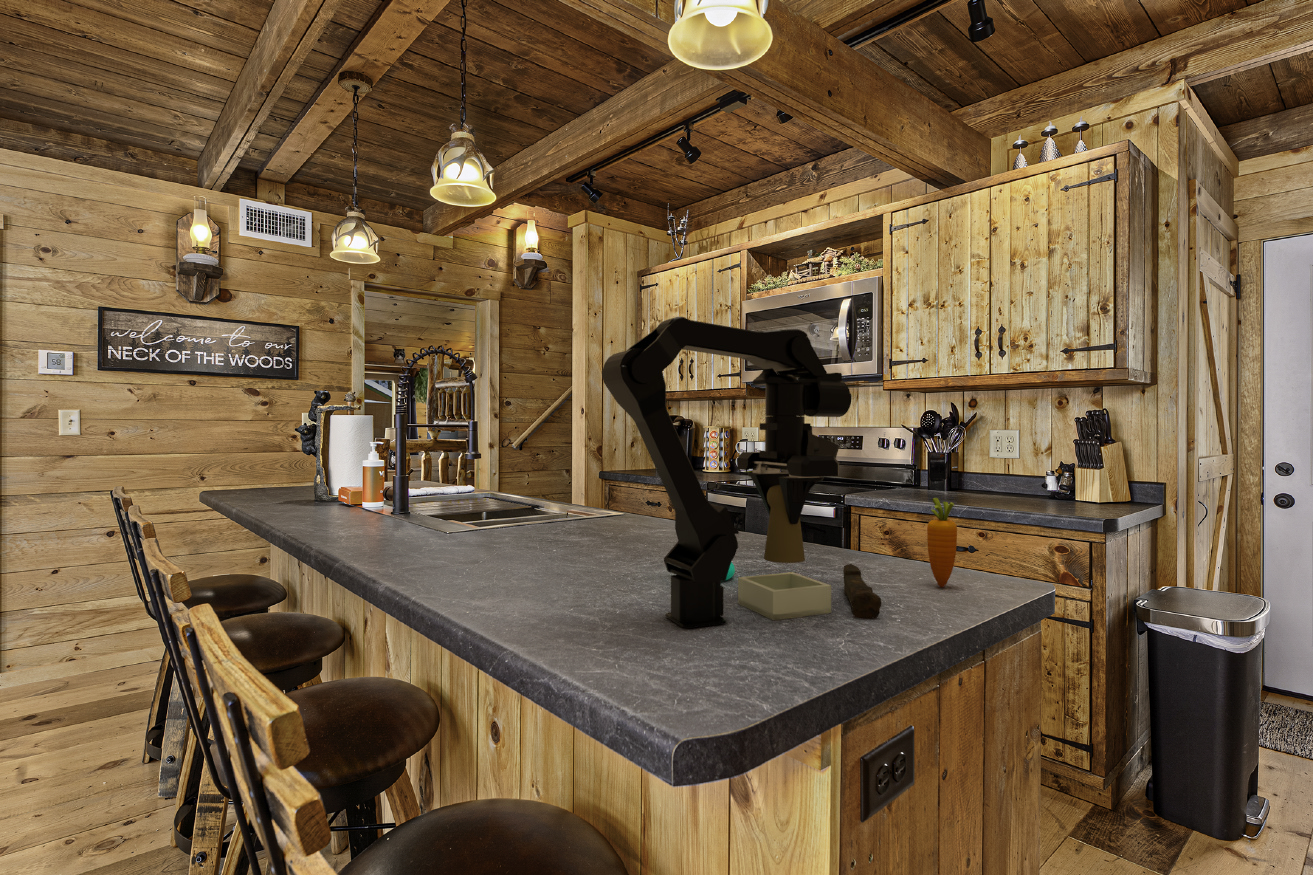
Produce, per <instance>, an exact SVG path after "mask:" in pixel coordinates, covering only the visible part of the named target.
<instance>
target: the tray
mask: <svg viewBox="0 0 1313 875" xmlns="http://www.w3.org/2000/svg"><path fill="white" fill-rule="evenodd" d="M737 579H738V580H737V581H738V582H737V584H738V585H737V586H738V587H737V591H738V592H737V594H738V595H737V603H738V605H740V606H742V607H744V608H746V609H748V610H751V611H753V612H755V613H757V614H760V615H761V616H763V617H766V618H768V619H770V620H772V621H778V620H786V619H788V620H789V619H793V618H802V617H810V616H811V617H812V616H817V615H826V614H831V613H832V585H831V584H829V583H825V582H823V581H821V580H820V581H819V580H816V579H814V578H810V577H809V576H804V575H803V574H802V575H801V574H799V573H796V572H793V571H791V572H782V573H773V574H772V573H771V574H761V575H749V576H739V577H737Z"/></svg>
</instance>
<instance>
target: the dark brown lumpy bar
mask: <svg viewBox="0 0 1313 875" xmlns="http://www.w3.org/2000/svg"><path fill="white" fill-rule="evenodd" d="M842 574H843V587H844V588H843V592H844V593H843V594H844V595H845V596H846V597H847V598H848V599H849V602H850V605H851V609H852V610H851V611H850V612H851V613H852V614H853V617H854V618H855V619H864V620H872V619H876V618H878V616H879V615H880V612H881V611H880V609H881V607H882V599H881V597H880V596H879V595H878V594H877V593H876V592H875V593H874V591H873V587H870V586H869V585H868V584H867V583H866V582H865V580H863V578H862V570H860V568H859V567H858V566H857V565H854V564H852V563H849V564H846V565H843V573H842Z"/></svg>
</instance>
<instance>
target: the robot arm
mask: <svg viewBox="0 0 1313 875" xmlns="http://www.w3.org/2000/svg"><path fill="white" fill-rule="evenodd" d="M682 350H684V351H690V352H698V353H705V354H711V355H717V356H723V357H724V356H725V357H731V358H737V359H742V360H745V361H747V362H749V363H750V364H752V365H753V366H756V367H758V368H761V369H762V371H761V373H760V374H758V376H756V377H755V378H754V379H753V380H752V384H753V385H754V386H765V406H764V407H765V412H764V413H765V416H764V417H765V419H764V421H765V422H763V423H761V422H759V431H764V432H765V433H764V438H765V439H764V445H765V446H764V450H759V451H742V452H741V453H740V454H739V455H738V456H737V459H736V460H737V461H736V470H738V471H739V470H740V471H749V470H752V472H748V473H747V475H748V477H750V478H751V481H752V483H753V484H754V486H755V488H756V489H757V492H758V493H759V497H761V500H762V502H763V504H764V507H765V509H766V511H767V513H768V515H769V516H770V509H771V507H770V505H769V504H768V501H767V493H768V490H769V489H770V487H772V486H775V485H780V486H781V490H782V495H783V499H784V503H785V507H786V512H787V516H788V519H789V522H790V524H797V523H798V521H799V518H800V519H801V515H802V512H803V510H804V509H803V508H804V506H805V503H806V500H807V498H808V495H809V493H810V490H811V489H812V488H813V487H814V486H815V485H816V484H817V483H818V482H822V481H823V480H824V477H839V476H840V471H839V470H840V462H839V461H838V459H837V456H838V452H839V449H840V445H839V444H838V443H835V442H832V441H831V440H829V439H827V438H826V439H825V438H823V437H822V436H818V435H815V434H813V426H812V424H811V423H809V422H807V423H805V422H806V421H805V420H806V417H812V418H815V417H816V418H819V417H820V418H841V417H843V416H845V415H846V414H847V413H848V412H849V409H850V408H851V405H852V400H853V398H852V393H851V391H850V388H849V386H848V385H847V383H846V382H844V381H843V373H842V372H830V373H829V372H827V370H826V368H825V367H824V365H823V362H822V361H821V360H820V358H819V356H818V355H817V353H816V351H815V349H814V347H813V346H812V342H811V339H810V338H809V337H808V333H807V332H805V331H804V330H801V329H798V328H793V329H792V328H791V329H786V328H785V329H773V330H763V331H762V330H759V331H755V330H749V329H746V328H745V329H744V328H738V327H735V326H734V327H732V326H726V325H722V324H721V325H720V324H715V323H712V322H711V323H709V322H704V321H698V320H691V319H688V318H686V317H684V316H674V317H672V318H669V319H665V320H663V321H661V322H660V323H659V324H658V325H657V326H656V327H655V328H654V329H653V330H652V331H651V332H649V333H648V334H647V335H645V336H644V337H642V338H641V339H640V340H638V341H637V342H635V343H634V344H632V345H631V346H630V347H629V348H628V349H627V350H623V351H619V352H617V353H613V354H612V355H610V356H609V357H608V358H607V359H606V360H605V362H604V364H603V367H602V370H601V377H602V380H603V383H604V385H605V387H606V388H607V390H608V392H609V393H610V394H611V395H612V397H613V399H614V400H615V401H616V403H617V404H618V405H619V406H620V407H621V408H622V409H623V410H624V411H625V412H626V414H628V416H630V418H631V419H632V420H633V422H634V423H635V426H636V428H637V430H638V432H639V434H640V437H641V439H642V441H643V443H644V445H645V447H646V450H647V451H648V452H647V453H648V454H649V456H650V458H651V461H652V463H653V465H654V467H655V469H656V471H657V474H658V476H659V478H660V481H661V483H662V485H663V487H664V489H665V491H666V493H667V496H668V498H669V500H670V503H671V504H672V506H673V509H674V514H675V515H674V516H675V517H674V519H675V520H674V530H675V535H676V537H677V542H676V543H675V544H674V545H673V547H672V548H671V549H670V550H669V552H668V553H667V554H666V555H665V556H664V558H663V562H664V565H665V569H666V571H667V573H671V574H674V575H670V612H666V613H665V618H668V619H669V621H670V620H671V621H672V622H674V623H675V624H677V625H678V626H680V627H681V628H684V629H691V628H698V627H700V628H701V627H708V626H714V625H715V626H716V625H722V624H723V625H724V624H725V625H726V624H727V619H726V618H725V617H723V616H724V590H725V588H724V586H723V585H722V584H721V583H722V582H725V581H727V580H726V577H727V574H728V571H729V568H730V564H731V562H732V561H733V559H734V558H735V556H736V553H737V550H738V548H739V542H738V538H737V535H739V534H740V531H739V530H738V529H737V528H736V527H735V525H734V524H733V521H732V518H731V513H730V511H729V510H728V508H727V507H725V506H721V505H715V504H711V503H710V502H709V501H708V498H707V497H706V494H705V492H704V490H703V488H702V486H701V484H700V481H699V479H698V477H697V474H696V472H695V470H694V468H693V465H692V463H691V461H690V458H689V457H688V454H687V452H686V449H685V448H684V445H683V442H682V441H681V437H680V436H679V433H678V432H677V430H676V427H675V425H674V421H672V418H671V415H670V413H669V411H668V408H667V383H666V381H665V376H664V372H663V371H664V370H665V369H666V368H667V367H668V366H669V367H670V365H671V364H672V363H673V362H674V360H675V359H676V358H677V357H678V356H679V354H680V353H681V351H682ZM781 470H783V471H784V470H787V472H781Z"/></svg>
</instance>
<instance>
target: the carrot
mask: <svg viewBox="0 0 1313 875" xmlns="http://www.w3.org/2000/svg"><path fill="white" fill-rule="evenodd" d="M932 502H933V504H934V508H935V509H931V510H930V511H931V512H932V514H933V515H934V516H935V517H936V518H937V519H935V518H934V519H932V520H930V521H929V522H927V530H926V533H927V553H928V558H929V564H930V570H931V572H932V574H933V578H934V579H935V581H936V583H937V585H938V586H939V587H940V588H942V589H943V588H944V587H945V586H946V584H948V581H949V580H950V578H951V575H952V572H953V569H954V566H955V562H956V557H957V556H956V554H957V544H958V542H957V541H958V540H957V539H958V527H957V523H956V522H955V521H953V520H950V519H949V518H948V517H949V515H950V513H951V510H952V509H953V507H954V505H955V504H954V502H950V503H949V502H947V501H943V502H942V504H943V506H942V504H941V501H940V500H939V498H938V497H934V498H932Z"/></svg>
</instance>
